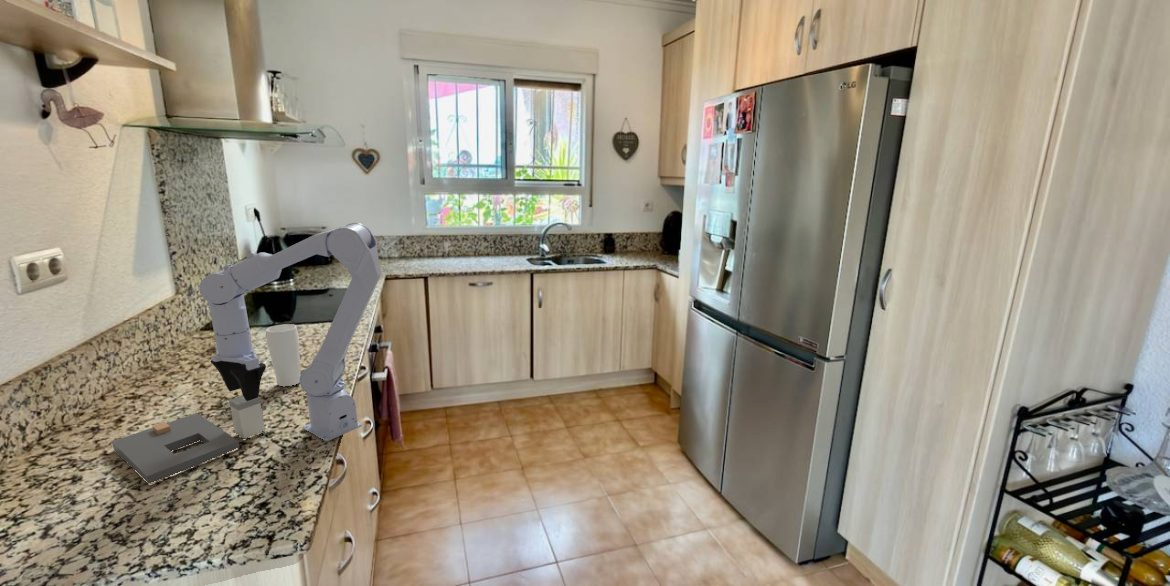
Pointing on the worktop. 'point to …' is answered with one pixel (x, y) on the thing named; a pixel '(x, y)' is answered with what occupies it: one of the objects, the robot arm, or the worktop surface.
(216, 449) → the socket plate
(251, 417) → the plug
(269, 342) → the drinking glass
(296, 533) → the worktop surface
